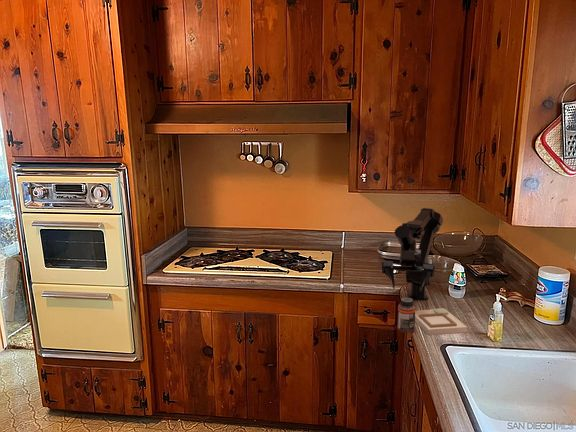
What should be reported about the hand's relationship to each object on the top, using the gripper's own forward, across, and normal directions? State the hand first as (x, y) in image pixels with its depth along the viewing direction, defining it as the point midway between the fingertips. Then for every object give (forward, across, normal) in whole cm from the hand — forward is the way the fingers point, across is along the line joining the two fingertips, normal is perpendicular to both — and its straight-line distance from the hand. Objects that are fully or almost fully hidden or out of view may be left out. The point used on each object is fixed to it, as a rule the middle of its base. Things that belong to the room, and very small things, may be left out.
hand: (407, 289), depth 155 cm
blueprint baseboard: (+8, +11, +10) cm, 17 cm away
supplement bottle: (+14, 0, +4) cm, 14 cm away
